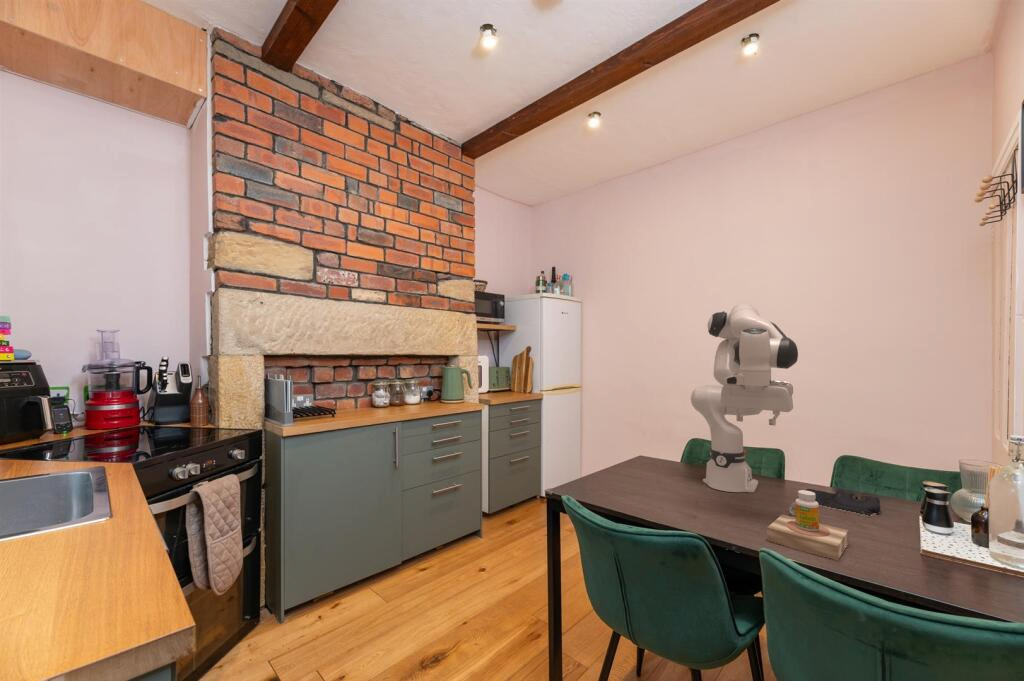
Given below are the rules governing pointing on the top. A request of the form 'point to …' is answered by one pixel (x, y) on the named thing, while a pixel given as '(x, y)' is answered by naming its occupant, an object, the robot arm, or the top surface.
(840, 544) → the birch base
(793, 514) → the grey gravel pile
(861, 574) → the top surface
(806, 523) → the supplement bottle
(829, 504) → the dark slate chunk
